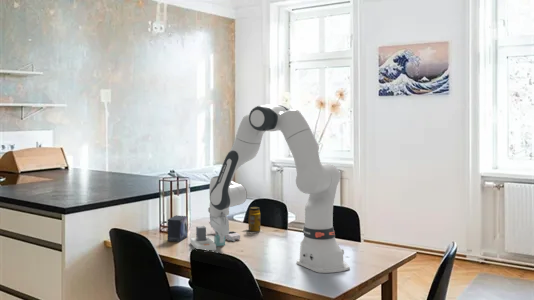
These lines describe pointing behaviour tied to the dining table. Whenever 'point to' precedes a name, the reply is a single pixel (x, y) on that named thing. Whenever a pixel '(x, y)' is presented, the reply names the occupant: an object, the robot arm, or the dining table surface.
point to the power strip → (203, 244)
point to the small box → (177, 228)
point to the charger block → (200, 233)
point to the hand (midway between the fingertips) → (219, 241)
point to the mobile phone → (231, 236)
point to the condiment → (254, 220)
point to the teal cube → (216, 240)
